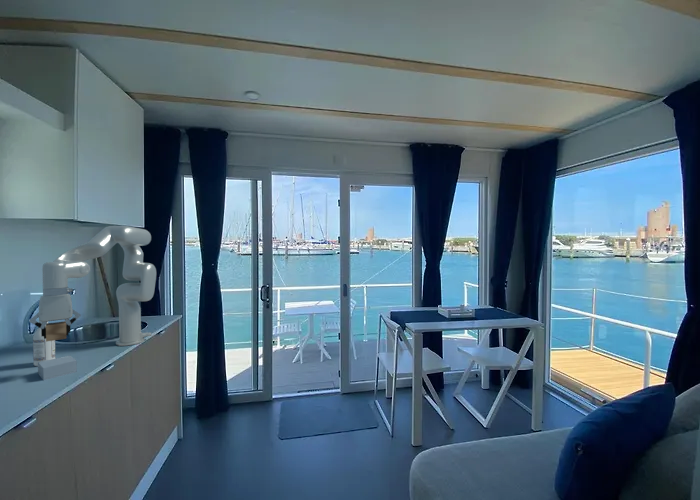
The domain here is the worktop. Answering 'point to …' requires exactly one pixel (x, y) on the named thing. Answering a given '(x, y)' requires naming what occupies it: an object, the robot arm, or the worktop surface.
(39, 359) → the bath foam
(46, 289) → the robot arm
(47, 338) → the walnut cube
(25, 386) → the worktop surface
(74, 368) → the base block
